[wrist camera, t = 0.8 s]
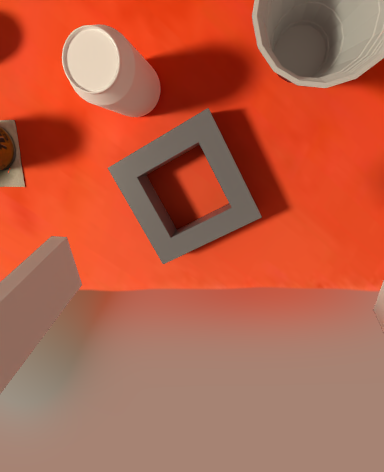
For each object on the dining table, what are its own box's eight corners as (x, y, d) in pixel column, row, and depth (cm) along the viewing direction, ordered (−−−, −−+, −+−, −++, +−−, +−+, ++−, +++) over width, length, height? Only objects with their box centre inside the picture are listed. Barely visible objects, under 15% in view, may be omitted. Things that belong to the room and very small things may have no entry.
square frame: (120, 166, 38) (107, 168, 34) (210, 113, 35) (208, 108, 31) (169, 253, 40) (163, 264, 36) (258, 210, 37) (261, 217, 33)
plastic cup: (229, 32, 32) (227, -34, 21) (328, -28, 30) (388, -140, 18) (269, 126, 34) (286, 113, 23) (364, 78, 32) (438, 36, 20)
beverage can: (110, 61, 35) (49, 16, 23) (162, 60, 34) (126, 13, 23) (113, 118, 36) (58, 102, 25) (162, 118, 36) (129, 101, 24)
